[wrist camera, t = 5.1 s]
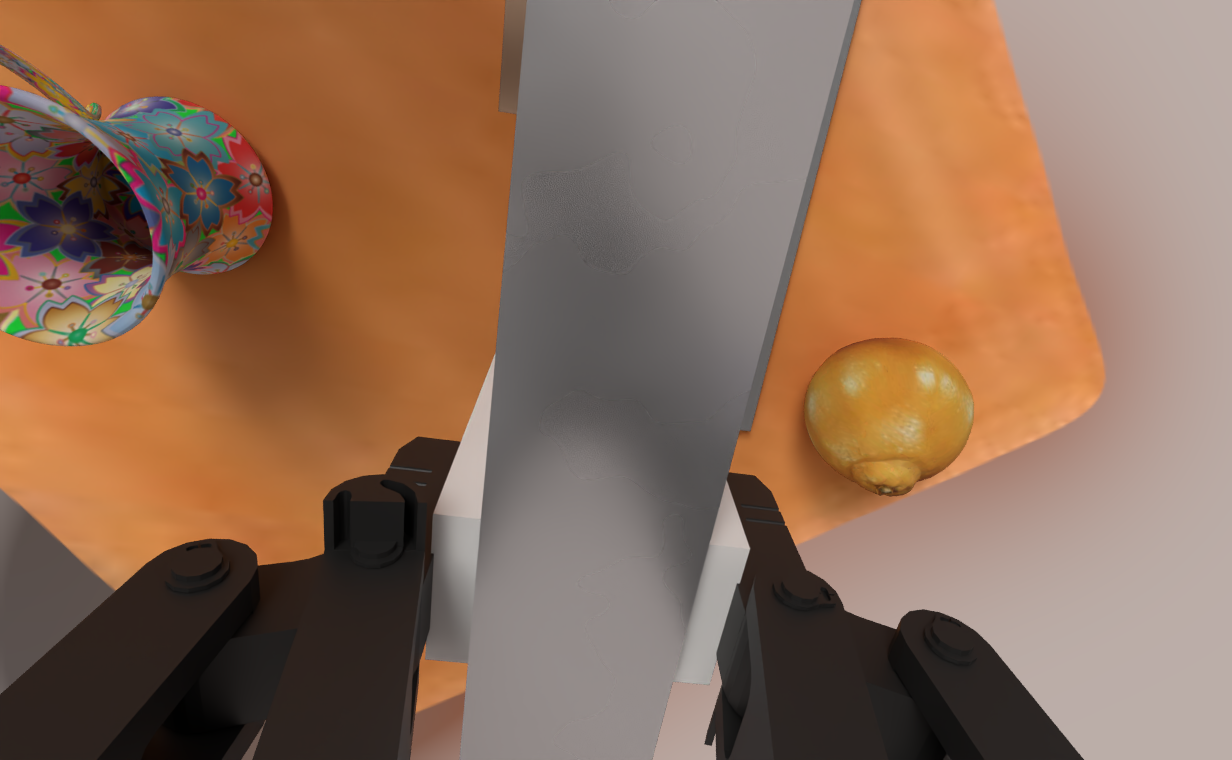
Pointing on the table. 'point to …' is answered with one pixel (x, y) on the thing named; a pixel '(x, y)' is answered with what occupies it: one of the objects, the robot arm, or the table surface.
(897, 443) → the fruit
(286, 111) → the table surface
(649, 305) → the rail
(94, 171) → the mug
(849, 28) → the felt mat
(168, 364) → the table surface
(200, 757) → the robot arm
